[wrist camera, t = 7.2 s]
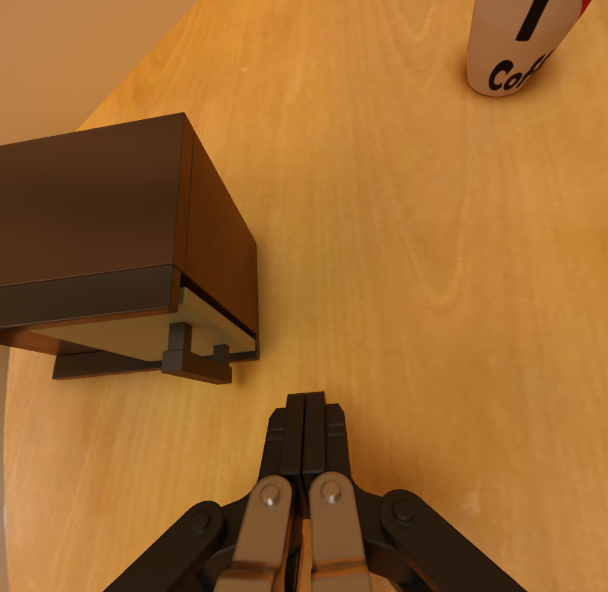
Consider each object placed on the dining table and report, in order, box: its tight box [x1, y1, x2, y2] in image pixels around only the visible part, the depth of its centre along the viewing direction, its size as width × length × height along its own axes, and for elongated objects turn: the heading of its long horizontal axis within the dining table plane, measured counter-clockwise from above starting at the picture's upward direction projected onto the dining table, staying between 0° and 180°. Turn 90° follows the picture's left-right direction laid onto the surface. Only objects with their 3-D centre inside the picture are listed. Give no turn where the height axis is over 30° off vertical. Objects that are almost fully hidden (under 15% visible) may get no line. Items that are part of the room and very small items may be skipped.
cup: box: [467, 0, 591, 97], centre depth 25 cm, size 8×8×10 cm
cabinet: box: [0, 112, 259, 380], centre depth 20 cm, size 10×16×12 cm, turn 95°
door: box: [27, 287, 255, 385], centre depth 18 cm, size 3×8×10 cm, turn 95°
